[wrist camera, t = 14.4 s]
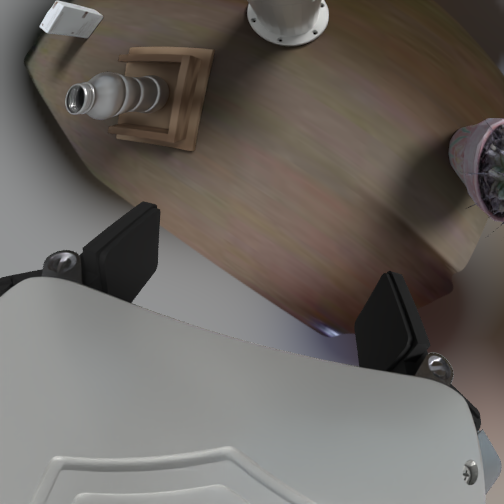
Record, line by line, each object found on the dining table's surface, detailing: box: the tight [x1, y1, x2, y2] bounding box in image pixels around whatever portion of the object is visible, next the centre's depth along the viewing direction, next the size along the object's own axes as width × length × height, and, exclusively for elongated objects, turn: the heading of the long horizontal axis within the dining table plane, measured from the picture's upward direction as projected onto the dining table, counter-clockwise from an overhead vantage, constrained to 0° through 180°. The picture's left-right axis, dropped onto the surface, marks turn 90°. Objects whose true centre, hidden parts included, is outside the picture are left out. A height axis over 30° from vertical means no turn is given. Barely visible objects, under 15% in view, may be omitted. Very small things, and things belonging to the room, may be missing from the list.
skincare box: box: [40, 1, 103, 38], centre depth 28 cm, size 6×4×12 cm
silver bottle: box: [65, 72, 169, 120], centre depth 31 cm, size 6×7×20 cm
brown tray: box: [108, 47, 215, 151], centre depth 38 cm, size 18×16×6 cm
